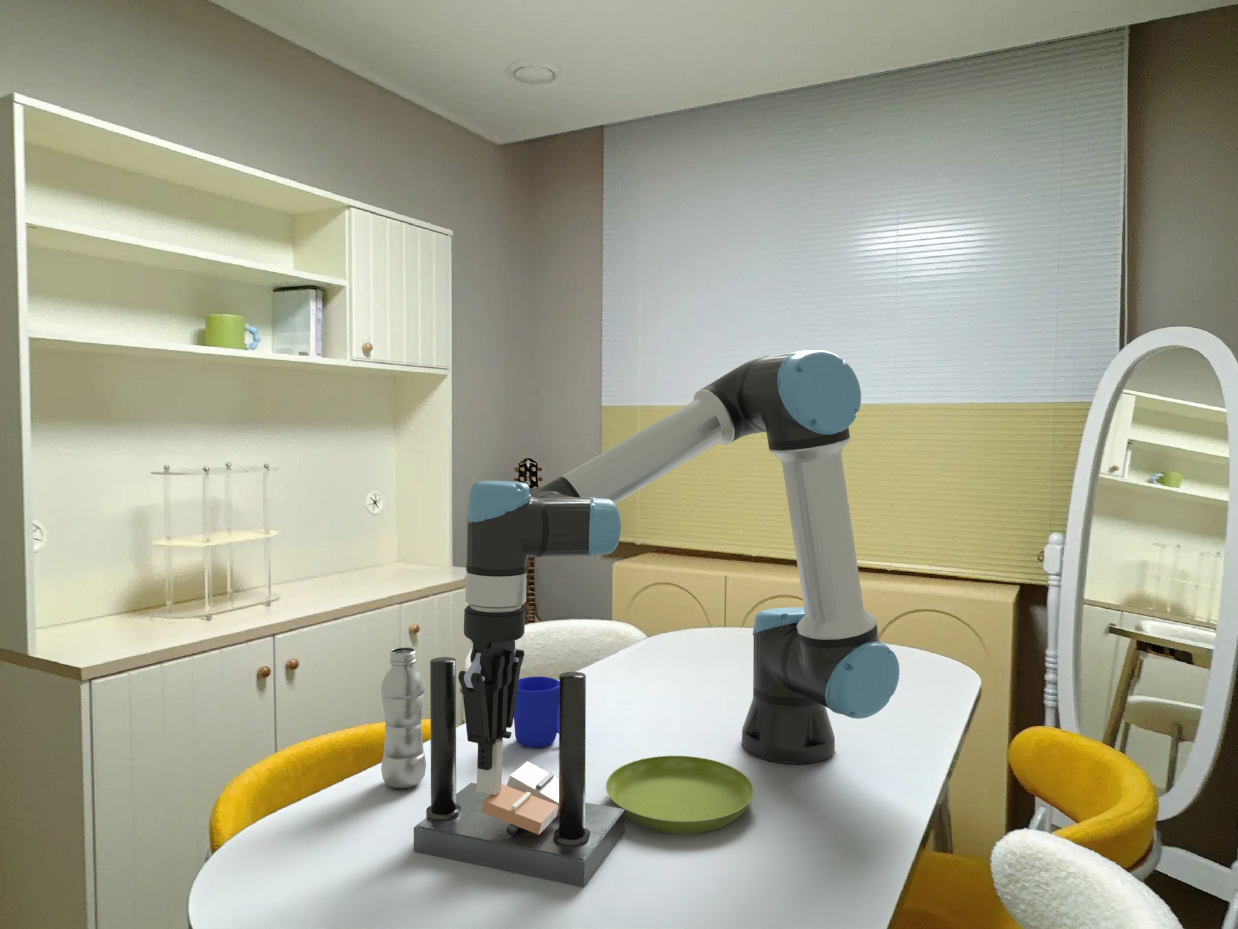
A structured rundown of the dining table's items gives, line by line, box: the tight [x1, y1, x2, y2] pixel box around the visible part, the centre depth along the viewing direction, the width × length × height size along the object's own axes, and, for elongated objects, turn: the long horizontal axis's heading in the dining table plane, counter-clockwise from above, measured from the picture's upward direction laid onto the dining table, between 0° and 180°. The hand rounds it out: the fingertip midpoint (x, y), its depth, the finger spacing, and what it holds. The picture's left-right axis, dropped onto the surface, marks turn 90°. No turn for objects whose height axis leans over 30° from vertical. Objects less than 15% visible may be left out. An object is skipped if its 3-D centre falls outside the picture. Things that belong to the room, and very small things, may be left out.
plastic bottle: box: [380, 646, 427, 789], centre depth 122 cm, size 6×7×20 cm
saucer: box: [605, 755, 755, 835], centre depth 116 cm, size 21×21×3 cm
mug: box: [513, 676, 559, 749], centre depth 138 cm, size 8×12×10 cm
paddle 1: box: [506, 760, 559, 815], centre depth 109 cm, size 8×5×2 cm, turn 70°
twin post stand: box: [413, 656, 626, 888], centre depth 105 cm, size 24×14×23 cm, turn 70°
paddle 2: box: [481, 783, 558, 835], centre depth 103 cm, size 8×5×2 cm, turn 70°
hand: (488, 790), depth 104 cm, fingers closed
